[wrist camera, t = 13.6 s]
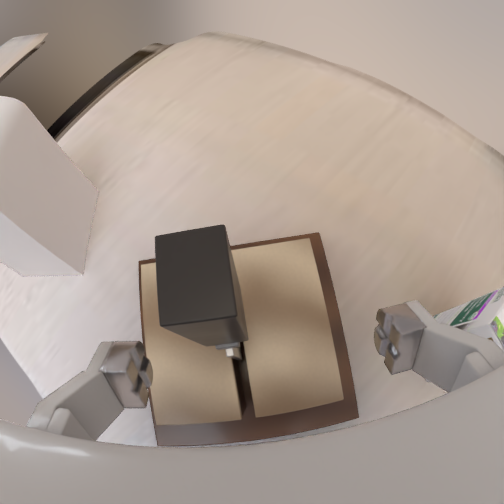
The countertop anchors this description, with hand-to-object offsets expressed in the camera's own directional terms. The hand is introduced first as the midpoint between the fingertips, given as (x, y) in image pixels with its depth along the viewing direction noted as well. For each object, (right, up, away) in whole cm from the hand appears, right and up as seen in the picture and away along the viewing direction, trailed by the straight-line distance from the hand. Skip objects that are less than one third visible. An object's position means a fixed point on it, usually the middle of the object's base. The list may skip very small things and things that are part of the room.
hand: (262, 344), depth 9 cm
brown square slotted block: (-1, -6, +19) cm, 20 cm away
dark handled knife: (-2, -3, +12) cm, 13 cm away
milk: (-27, +5, +25) cm, 37 cm away
